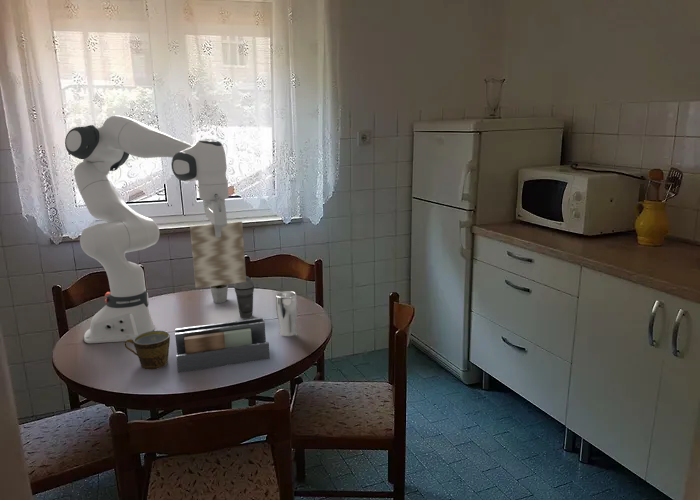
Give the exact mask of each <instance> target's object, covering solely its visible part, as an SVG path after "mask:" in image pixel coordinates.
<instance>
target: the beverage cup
mask: <svg viewBox="0 0 700 500" xmlns="http://www.w3.org/2000/svg"><path fill="white" fill-rule="evenodd" d="M233 288H234V289H233V290H234V292H235V295H236V301H237V302H236V303H237V307H238V313H239V317H240V319H241V320H242V319H243V320H248V319H252V317H253V315H254V314H253V312H254V292H255V291H254V289H255V285H254V281H253V279H252V278H251V277H249V276H247V275H246V282H241V283H234V287H233Z"/></svg>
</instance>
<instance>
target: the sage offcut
mask: <svg viewBox="0 0 700 500" xmlns="http://www.w3.org/2000/svg"><path fill="white" fill-rule="evenodd" d="M224 339H225V348H229V347H236V346H243V345H250V344H252V337H251V329H250V328H248V329H241V330H233V331H226V332H224Z"/></svg>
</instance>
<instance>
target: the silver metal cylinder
mask: <svg viewBox="0 0 700 500" xmlns="http://www.w3.org/2000/svg"><path fill="white" fill-rule="evenodd" d="M297 298H298V297H297V293H296V292H295V291H292V290H291V291H290V290H289V291H288V290H286V291H281V292H277V293H276V295H275V309H276V316H277V319H278V323H279V336H281V337H291V336H293V337H294V336H295V337H297V338H298V332H297V316H298V300H297Z"/></svg>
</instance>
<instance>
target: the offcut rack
mask: <svg viewBox="0 0 700 500" xmlns="http://www.w3.org/2000/svg"><path fill="white" fill-rule="evenodd" d="M248 328H250V329H251V337H252V344H250V345H243V346H236V347H229V348H222V349H215V350H208V351H201V352H194V353H187V354H186V351H185V341H184V337H189V336H197V335H204V334H212V333H219V332H226V331H233V330H241V329H248ZM174 335H175V336H174V337H175V345H176V363H177V373H185V372H186V373H187V372H193V371H197V370H198V371H200V370H205V369H212V368H219V367H225V366H231V365H233V366H234V365H237V364H244V363H252V362H258V361H264V360H271V359H270V343H269V341H266V339H267V338H266V322H265V321H264V318H263V317H257V318H248V319H243V320H242V319H241V320H234V321H226V322H218V323H217V322H216V323H211V324H204V325H203V324H201V325H196V326H195V325H194V326H187V327H178V328H175V333H174Z"/></svg>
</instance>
